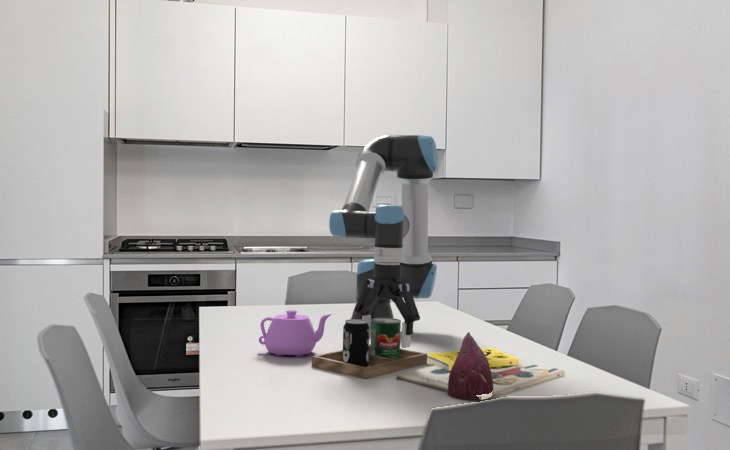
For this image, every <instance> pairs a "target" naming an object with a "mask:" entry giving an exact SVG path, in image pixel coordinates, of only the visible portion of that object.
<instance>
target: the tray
mask: <svg viewBox="0 0 730 450" xmlns="http://www.w3.org/2000/svg"><path fill="white" fill-rule="evenodd" d="M370 347H371V343H369V358H368V367H363V366H358V365H354V364H349V363H345V362H342V356H343V349H341V350H337V351H331V352H326V353H321V354H316V355H311V367H314V368H319V369H322V370H327V371H330V372H334V373H339V374H343V375H348V376H351V377H356V378H360V379H364V380H368V379H370V378H371V379H372V378H374V377H379V376H383V375H385V374H390V373H394V372H397V371H403V370H405V369H409V368H413V367H418V366H421V365H426V364H428V353H425V352H420V351H416V350H410V349H406V348H402V347H400V358H399V359H397V360H395V359H390V358H385V357H381V356H376V355H371V354H370V350H371V348H370Z"/></svg>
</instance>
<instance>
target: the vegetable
mask: <svg viewBox="0 0 730 450" xmlns="http://www.w3.org/2000/svg"><path fill="white" fill-rule="evenodd" d="M493 383H494V379H493V375H492V371H491V367H490V363H489V360H488V358H487V356H486V354H485V353H484V351H483V350H482V348H481V347H480V345H478V343H477V341H476V340H475V339H474V337H473V336H472V335H471V333H470V331H469V332H467V333H466V334H465V336H463V339H462V342H461V346H460V349H459V352H458V355H457V356H456V358H455V361H454V363H453V365H452V366H451V369H450V371H449V376H448V383H447V395H448V396H449V397H452V398H454V399H458V400H463V401H468V402H474V401H473V400H476V401H475V402H482V401H481V400H480V399H479V397H477V396H476V395H482V394H489V393H491V392H492V391H493V392H494V384H493Z"/></svg>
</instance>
